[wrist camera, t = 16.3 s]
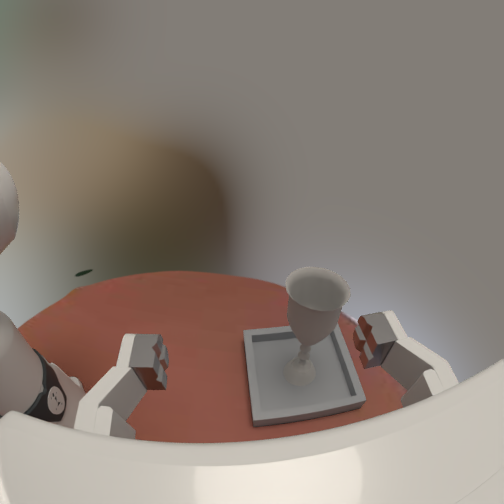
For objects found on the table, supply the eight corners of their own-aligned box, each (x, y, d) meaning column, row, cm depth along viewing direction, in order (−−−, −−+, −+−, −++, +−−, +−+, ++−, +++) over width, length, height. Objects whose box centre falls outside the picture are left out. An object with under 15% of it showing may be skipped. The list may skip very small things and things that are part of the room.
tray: (253, 427, 33) (253, 420, 31) (244, 341, 46) (243, 330, 44) (360, 408, 34) (366, 400, 32) (333, 330, 47) (336, 319, 45)
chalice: (267, 373, 39) (271, 288, 29) (293, 346, 43) (307, 259, 33) (305, 399, 35) (331, 321, 25) (330, 369, 39) (360, 284, 29)
